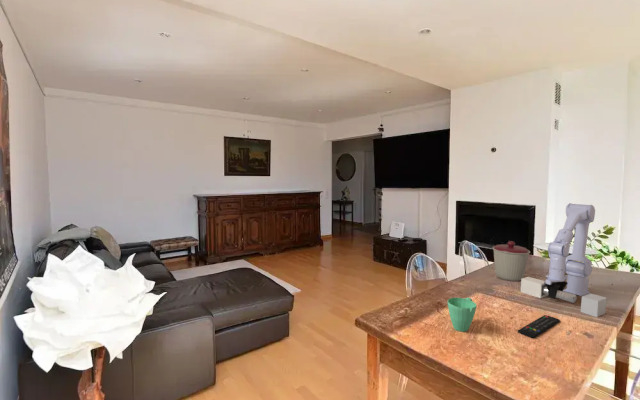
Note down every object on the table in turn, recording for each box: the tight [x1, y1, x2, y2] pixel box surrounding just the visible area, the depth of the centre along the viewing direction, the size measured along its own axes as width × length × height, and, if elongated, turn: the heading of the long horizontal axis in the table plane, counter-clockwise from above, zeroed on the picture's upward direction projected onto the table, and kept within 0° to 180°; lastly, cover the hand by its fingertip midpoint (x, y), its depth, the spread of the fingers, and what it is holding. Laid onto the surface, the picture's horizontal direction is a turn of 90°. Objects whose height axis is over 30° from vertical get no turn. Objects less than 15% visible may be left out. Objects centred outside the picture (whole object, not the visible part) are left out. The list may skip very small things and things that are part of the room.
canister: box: [492, 240, 531, 282], centre depth 175 cm, size 18×18×21 cm
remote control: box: [517, 314, 561, 340], centre depth 119 cm, size 5×24×1 cm, turn 124°
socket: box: [580, 292, 608, 318], centre depth 132 cm, size 8×6×7 cm
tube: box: [519, 282, 578, 304], centre depth 148 cm, size 4×22×4 cm, turn 29°
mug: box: [447, 297, 477, 333], centre depth 119 cm, size 15×10×10 cm
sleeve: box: [520, 276, 548, 299], centre depth 152 cm, size 6×9×7 cm
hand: (554, 297), depth 145 cm, fingers open, 4 cm apart
